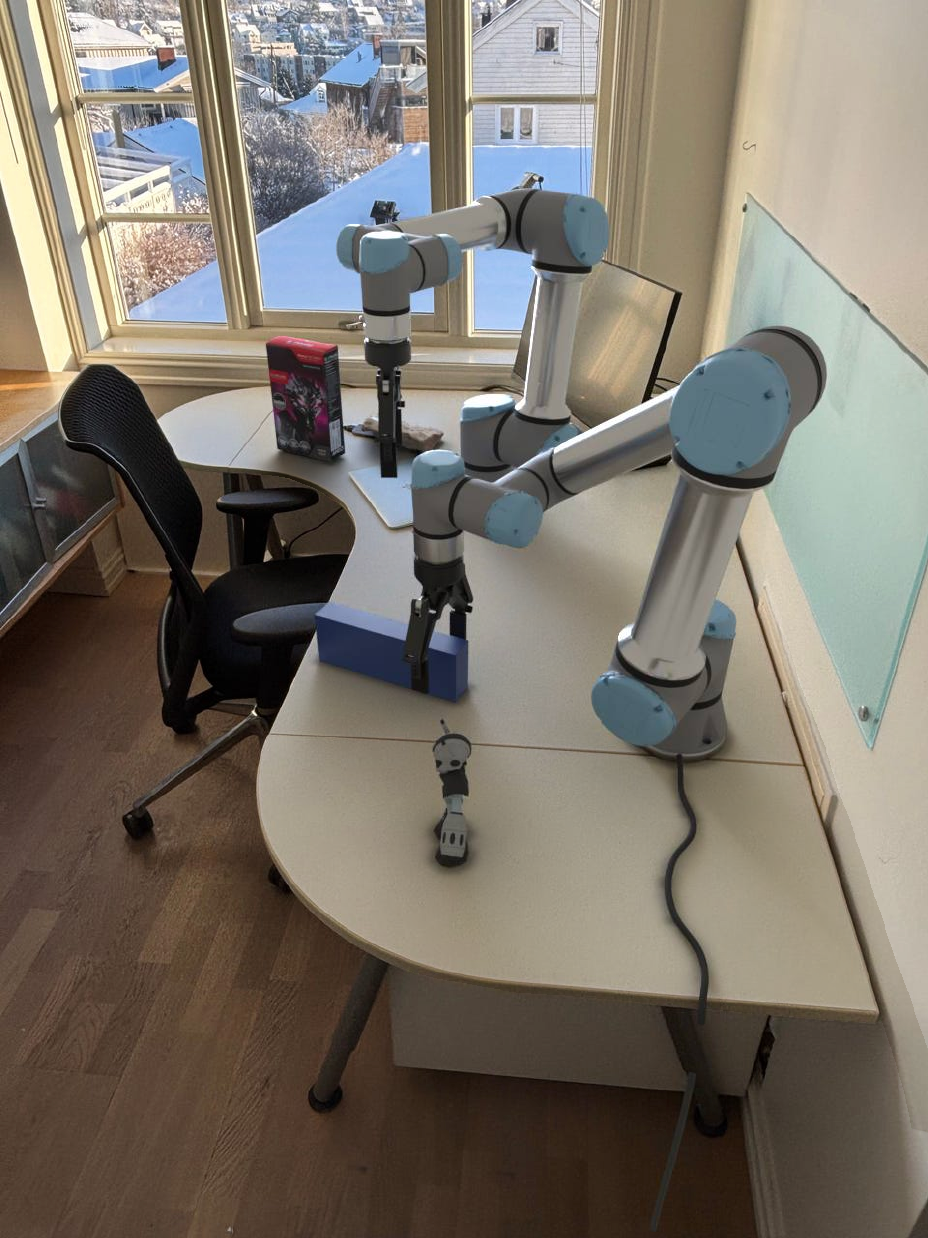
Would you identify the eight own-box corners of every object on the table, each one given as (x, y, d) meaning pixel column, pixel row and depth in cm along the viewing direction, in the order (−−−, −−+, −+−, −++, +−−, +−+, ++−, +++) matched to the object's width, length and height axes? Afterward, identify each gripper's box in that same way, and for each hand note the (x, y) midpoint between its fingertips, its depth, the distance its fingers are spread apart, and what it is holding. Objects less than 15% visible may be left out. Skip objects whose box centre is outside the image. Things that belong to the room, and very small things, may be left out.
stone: (345, 437, 230) (349, 413, 227) (367, 428, 243) (371, 405, 241) (423, 461, 226) (429, 437, 224) (441, 451, 239) (446, 428, 237)
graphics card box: (274, 450, 230) (262, 341, 215) (291, 440, 235) (280, 333, 220) (331, 464, 224) (323, 352, 209) (347, 453, 229) (340, 344, 214)
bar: (467, 687, 152) (468, 640, 147) (456, 702, 148) (456, 655, 143) (333, 646, 161) (329, 601, 156) (319, 660, 158) (314, 614, 152)
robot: (474, 902, 115) (476, 785, 104) (435, 903, 115) (433, 787, 104) (466, 791, 132) (467, 679, 120) (432, 792, 131) (430, 680, 120)
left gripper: (370, 314, 158) (376, 431, 170) (355, 362, 137) (363, 491, 149) (414, 315, 158) (417, 432, 170) (406, 362, 137) (409, 492, 149)
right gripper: (452, 513, 148) (452, 623, 160) (374, 586, 129) (381, 704, 141) (495, 523, 145) (492, 633, 157) (422, 599, 127) (424, 718, 138)
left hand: (392, 460), depth 159 cm, fingers open, 13 cm apart
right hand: (439, 667), depth 149 cm, fingers open, 13 cm apart
